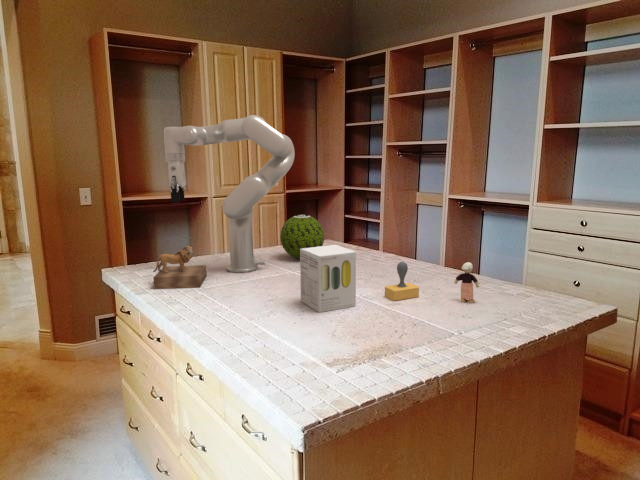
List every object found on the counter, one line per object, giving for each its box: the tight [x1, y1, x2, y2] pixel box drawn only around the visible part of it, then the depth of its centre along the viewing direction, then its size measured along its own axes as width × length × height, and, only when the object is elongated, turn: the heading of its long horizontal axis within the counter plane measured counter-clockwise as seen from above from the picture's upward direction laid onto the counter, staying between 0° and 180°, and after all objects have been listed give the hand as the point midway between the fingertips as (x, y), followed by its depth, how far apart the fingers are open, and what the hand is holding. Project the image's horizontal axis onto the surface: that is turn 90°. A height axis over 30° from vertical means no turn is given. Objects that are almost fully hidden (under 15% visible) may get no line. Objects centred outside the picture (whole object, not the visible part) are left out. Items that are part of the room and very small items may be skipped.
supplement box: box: [299, 244, 357, 313], centre depth 146 cm, size 13×13×18 cm
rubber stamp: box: [384, 261, 420, 302], centre depth 153 cm, size 10×6×12 cm, turn 115°
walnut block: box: [153, 264, 208, 290], centre depth 174 cm, size 16×16×5 cm
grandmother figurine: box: [453, 261, 480, 304], centre depth 148 cm, size 8×4×13 cm, turn 71°
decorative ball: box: [280, 214, 325, 260], centre depth 210 cm, size 20×20×20 cm
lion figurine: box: [152, 245, 194, 273], centre depth 172 cm, size 15×5×9 cm, turn 113°
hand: (178, 201), depth 190 cm, fingers open, 9 cm apart
